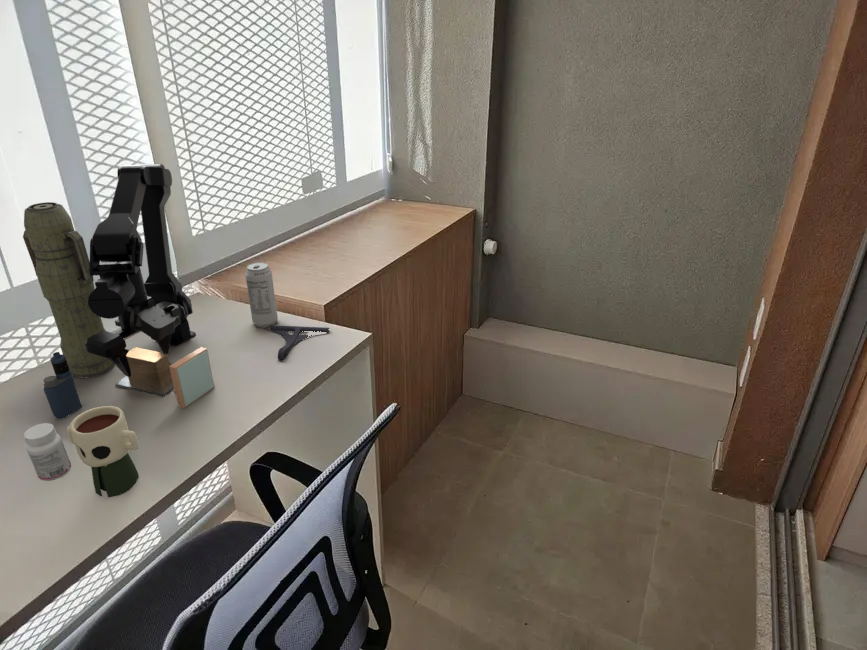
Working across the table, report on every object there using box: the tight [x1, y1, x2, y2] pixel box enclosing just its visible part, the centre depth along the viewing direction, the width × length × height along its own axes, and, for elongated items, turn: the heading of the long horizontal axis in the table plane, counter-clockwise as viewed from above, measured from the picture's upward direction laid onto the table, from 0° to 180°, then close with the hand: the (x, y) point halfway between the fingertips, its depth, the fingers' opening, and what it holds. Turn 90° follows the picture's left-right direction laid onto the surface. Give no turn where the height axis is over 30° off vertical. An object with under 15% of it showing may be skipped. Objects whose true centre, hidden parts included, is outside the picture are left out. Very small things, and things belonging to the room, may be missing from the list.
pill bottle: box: [23, 422, 72, 482], centre depth 91 cm, size 5×5×8 cm
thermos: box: [22, 201, 116, 379], centre depth 113 cm, size 9×12×35 cm
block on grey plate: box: [114, 346, 175, 398], centre depth 115 cm, size 12×7×7 cm, turn 72°
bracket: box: [268, 324, 330, 361], centre depth 130 cm, size 14×15×3 cm
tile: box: [169, 346, 215, 409], centre depth 110 cm, size 2×8×9 cm, turn 156°
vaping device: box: [43, 351, 83, 420], centre depth 104 cm, size 3×5×12 cm, turn 161°
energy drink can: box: [244, 261, 279, 328], centre depth 136 cm, size 6×6×15 cm
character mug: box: [66, 405, 140, 498], centre depth 87 cm, size 11×7×13 cm, turn 83°
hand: (147, 365), depth 114 cm, fingers open, 9 cm apart
